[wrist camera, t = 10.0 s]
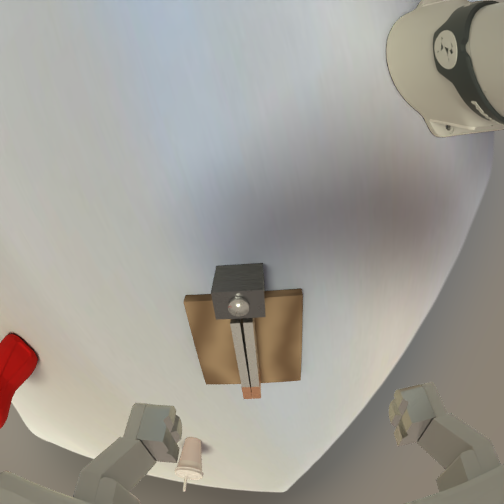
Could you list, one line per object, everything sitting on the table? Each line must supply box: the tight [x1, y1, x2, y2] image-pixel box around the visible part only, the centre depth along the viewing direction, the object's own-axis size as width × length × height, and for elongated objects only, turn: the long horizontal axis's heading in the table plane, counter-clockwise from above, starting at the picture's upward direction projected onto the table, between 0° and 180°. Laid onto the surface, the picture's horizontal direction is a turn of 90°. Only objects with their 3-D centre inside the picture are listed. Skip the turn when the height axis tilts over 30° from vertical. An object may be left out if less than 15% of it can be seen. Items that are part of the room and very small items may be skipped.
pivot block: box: [211, 263, 266, 320], centre depth 39 cm, size 6×4×7 cm, turn 95°
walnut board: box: [184, 289, 303, 384], centre depth 47 cm, size 16×18×2 cm
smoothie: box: [175, 437, 203, 492], centre depth 58 cm, size 6×6×14 cm
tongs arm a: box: [243, 318, 261, 399], centre depth 44 cm, size 16×1×4 cm, turn 4°
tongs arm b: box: [230, 318, 252, 399], centre depth 44 cm, size 16×1×4 cm, turn 5°
